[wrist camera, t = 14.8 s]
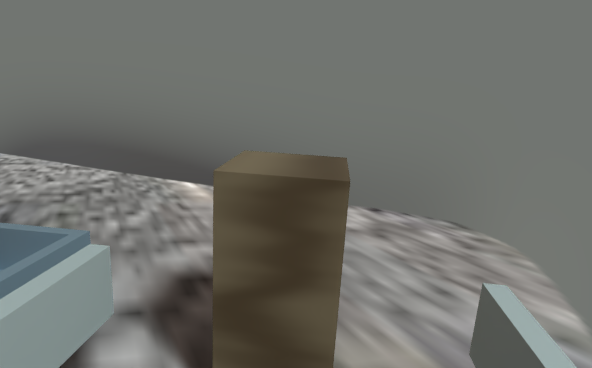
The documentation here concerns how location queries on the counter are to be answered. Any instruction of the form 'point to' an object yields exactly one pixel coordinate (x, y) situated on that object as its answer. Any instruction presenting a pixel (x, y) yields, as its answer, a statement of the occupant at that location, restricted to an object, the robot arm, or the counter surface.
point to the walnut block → (278, 259)
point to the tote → (34, 252)
